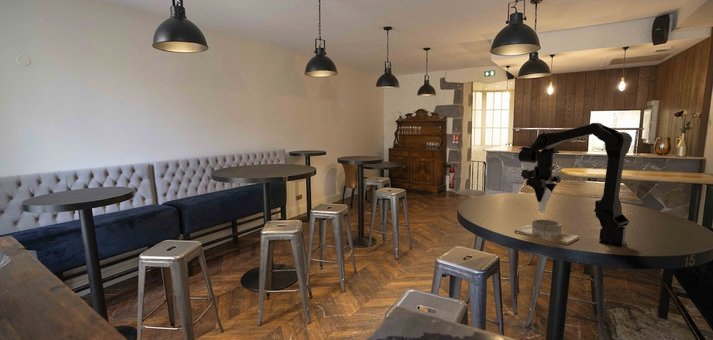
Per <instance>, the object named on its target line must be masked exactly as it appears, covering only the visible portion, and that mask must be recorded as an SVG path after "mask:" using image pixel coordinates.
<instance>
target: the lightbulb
mask: <svg viewBox="0 0 713 340" xmlns="http://www.w3.org/2000/svg"><path fill="white" fill-rule="evenodd" d="M534 197H535V199H536V200H537V197H536V193H535V192H534ZM551 197H552V193H551V191H550V190H549V189H548V188H547V189H546V191H545V193H544V196H543V198H542V200H541V202H538V201H537V206H538V212H540V213H544V212H546V209H547V206H548V202H549V201H550V199H551Z"/></svg>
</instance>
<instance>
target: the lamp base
mask: <svg viewBox="0 0 713 340" xmlns="http://www.w3.org/2000/svg"><path fill="white" fill-rule="evenodd" d="M516 232H519V233H518V234H520V233H523V234H522V235H524V234H527V235H526V236H528V235H530V236H529V237H532V236H533V237H532V238H536V237H537V239H540V238H541V240H544V239H545V241H549V242H553V241H554V243H557V242H558V243H557V244H562V245H566V246H567V245H570V244H572V243H574V242H575V241H577V240H579V239H580V236H579V235H576V234H572V233H567V232H562V224H561V222H559V221H555V220H550V219H534V220H532V224H527V225H524V226H521V227H519V228H516V229H514V233H516Z"/></svg>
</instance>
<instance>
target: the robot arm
mask: <svg viewBox="0 0 713 340" xmlns="http://www.w3.org/2000/svg"><path fill="white" fill-rule="evenodd" d="M592 135H593V136H594V137H596V138H597V139H598V140H600V141H602V142H603V143H604V149H605V152H606V156H607V160H606V161H607V163H606V171H605V179H604V186H603V194H602V197H601V198H600V199H597V200H595V202H594V205H595V206H594V207H595V208H594V209H593V213H594V212H595V214H594V215H595V217H596V218H597V219H598V221H599V223H600V227H601V228H600V230H599V237H598V238H599V242H598V243H601V244H605V245H610V246H612V247H613V246H615V247H619V248H622V247H623V246H625V245H626V244H627V241H625V240H626V232H627V226H628V225H629V223H630V220H629V219H628V218H627V217H626V216H625V215H624V213H623V210H622V209H623V208H622V203H621V199H620V191H621V183H622V178H623V177H622V176H623V169H624V162H625V158H626V155H627V153H629V151H630V148H631V145H632V142H633V137H632V136H631V135H630V134H629V133H628V132H626V131H619V130H616V129H614V128H611V127H609V126H606V125H604V124H603V123H600V122H591V123H590V124H586V125H583V126H579V127H575V128H570V129H567V130H563V131H560V132H550V133H549V132H547V133H540V134H538V135H537V137H536V139H535V141H534V142H533V144H532V145H530V147H529V146H522V147H521V149H520V151H519V153H518V161H519V162H521V163H529V164H535V163H536V165H535V166H534V169H532V170H529V169H528V168H527V169H526V168H525V169H522V170H521V174H520V177H522V178H523V180H525V185H526V186H529V187H530V188H532V189H533V190H534V194H535V193H536V197H537V199H536V201H537V203H538V202H541V200H542V198H543V196H544V193H545V191H546V189H547V188H548V189H549V190H550V191H551V194H552V193H553V192H554V189H555V188H556V187H557V185H558V183H559V184H560V183H561V179H562V178H561V177H560V175H553V170H555V166H553V165H554V155H555V154H559V153H560V151H559V150H558V149H556V146H558V145H560V144H562V143H564V142H567V141H572V140H575V139H579V138H583V137H587V136H592ZM536 197H535V198H536Z"/></svg>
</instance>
